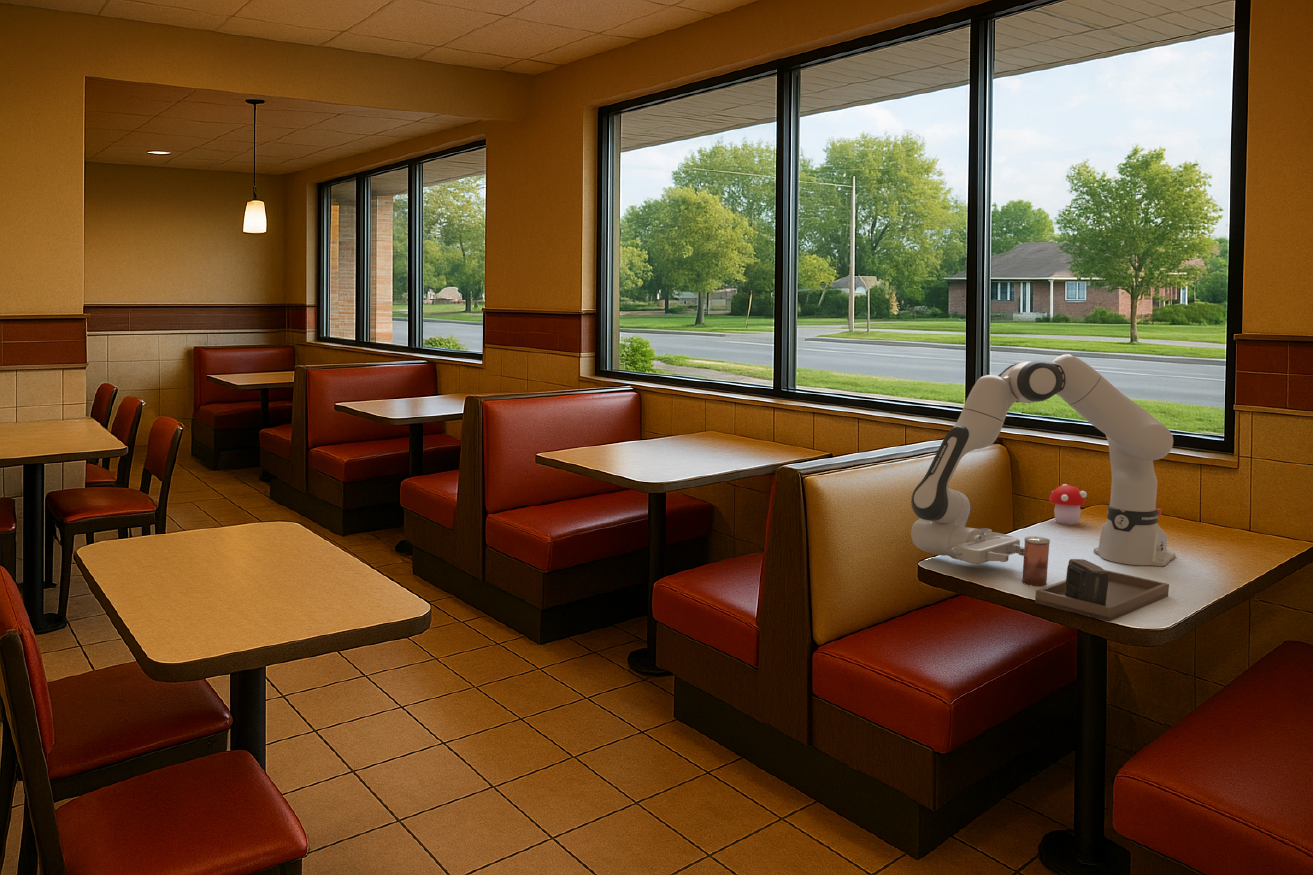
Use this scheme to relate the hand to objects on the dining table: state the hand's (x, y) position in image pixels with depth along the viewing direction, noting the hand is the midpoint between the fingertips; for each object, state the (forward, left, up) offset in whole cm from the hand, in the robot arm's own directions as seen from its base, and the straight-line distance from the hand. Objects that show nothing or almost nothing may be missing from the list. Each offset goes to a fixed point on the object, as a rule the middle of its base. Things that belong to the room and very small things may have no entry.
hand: (1017, 555), depth 242 cm
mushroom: (-72, -24, -6) cm, 76 cm away
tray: (0, +22, -6) cm, 23 cm away
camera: (+9, +22, -6) cm, 25 cm away
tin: (0, +5, -6) cm, 8 cm away
